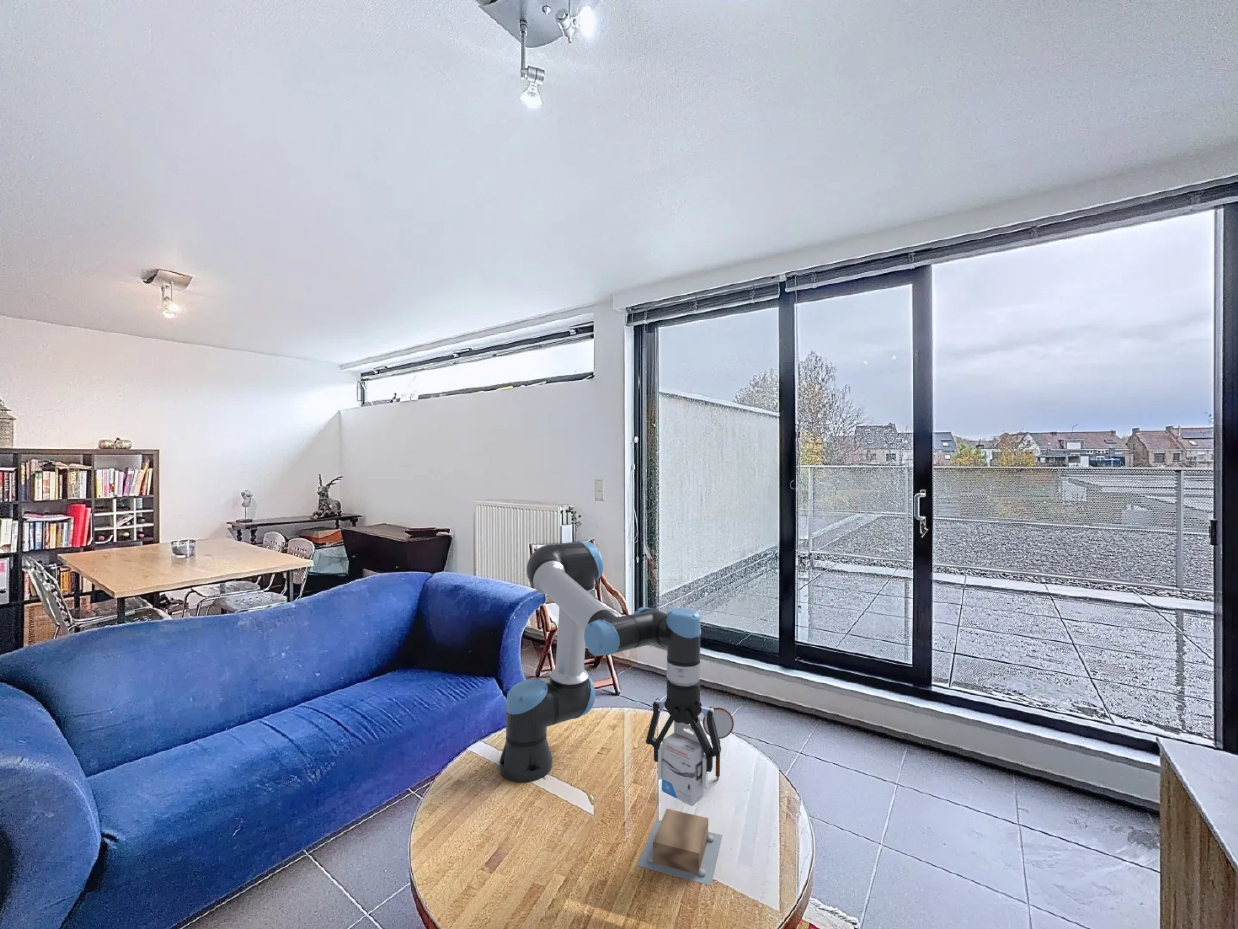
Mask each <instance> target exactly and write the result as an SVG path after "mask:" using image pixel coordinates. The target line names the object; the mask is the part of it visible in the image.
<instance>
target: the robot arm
mask: <svg viewBox="0 0 1238 929" xmlns="http://www.w3.org/2000/svg"><path fill="white" fill-rule="evenodd" d="M603 573H604V560H603V556H602V554H601V552H600V550H599V548H598V547H597V546H596V544H594V543H593V542H590V541H580V540H578V541H573V542H562V543H549V544H545V545H542V546H540V547H538V548H536V550H534V552H532V554H531V555H530V557H529V559H528V561H527V565H526V576H527V580H528V582H529V583H530V585H531V586H532V587H533V588H534V590H536V591H537V592H538V593H540V594H545V595H547V596H548V598H549V599H550V600H552V602H554V603H555V604H556V605H557V607H559V608H558V621H557V622H558V623H557V639H556V640H557V641H556V642H557V643H556V657H555V667H554V668H553V669H552V670H551V672H550V676H549V682H546V681H544V680H542V679H538V678H537V679H536V678H535V679H526V680H522V681H520V682H518V683H516V684H514V685H513V686H511V687H510V689H509V691H508V692H507V695H506V702H505V743H504V746H503V748H502V752H501V755H500V758H499V761H498V762H499V763H498V764H499V766H498V767H499V768H498V772H499V774H500V775H501V776H502V777H503V778H505V779H507V780H509V781H512V782H517V783H519V782H520V783H522V782H525V783H526V782H530V781H531V782H532V781H536V780H539V779H540V778H543V777H544V776H546V775H547V774H549V772H550V771H551V770H552V769H553V755H552V751H551V749H550V746H549V742H548V739H547V734H548V733H547V728H548V727H551V726H553V725H558V724H560V723H564V722H567V721H570V720H577V719H579V718H581V717H582V716H583V717H584V716H585V715H587V714H588V713H589V712H591V710H592V709H593V707H594V704H595V702H596V700H595V699H596V689H595V687H594V686H595V684H594V681H593V679H592V678H591V676H589V673H588V671H587V670H586V669H585V656H586V648H587V650H588V652H589V653H590V654H591V655H593V656H596V657H601V656H610V655H614V654H617V653H620V652H624V651H625V652H626V651H628V650H631V649H638V648H641V647H646V646H650V645H657V646H658V647H662V648H664V649H666V678H667V680H666V699H665V700H661V699H660V698H656V699H655V700H654V701H653V702H652V717H651V721H650V724H649V728H648V732H647V736H646V739H645V744H647V745H648V746H649V745H651V747H653V761H654V762H656V763H657V780H662V740H663V739H664V738H666V735H667V734H668V731H669V730H670V728H671V727H672V724H674V721H675V722H676V723H684V724H688V725H691V728H692V729H693V730H694V732H695V734H696V736H697V738H698V740H699V742H700V745H701V747H702V749H703V751H704V756H703V781H702V788H704V789H707V787H708V782H709V773H711V772H712V771H713V766H714V765H713V764H714V758H716V757H719V756H720V757H721V752H722V746H721V741H720V742H719V740H720V739H719V737H718V733H717V729H716V725H715V721H714V708H715V707H714V706H709V707H706V706H703V704H702V702H701V682H700V680H701V639H702V638H701V634H702V629H701V616H700V614H699V612H697V611H696V610H694V609H691V608H688V609H687V608H680V607H679V608H674V609H670V610H669V611H668V612H667V613H666V612H665V611H661V610H658V609H656V608H653V607H648V606H647V607H646V606H642V607H639V608H637V610H636V611H634V612H633V613H631V614H626V615H622V616H621V615H620V616H617V615H615V614H614V613H613V612H612V611H610V610H609V609H608V608H607V607H606V606H605V605H604V604H603V603H602V602H600V601H599V600H597V598H595V596H593V595H592V594H591V593H590V592H592V591H593V590H594V588H595V581H598V579H600V578H601V576H602V575H603ZM664 708H665V709H666V711H667V713H668V714H669V717H668V718H667V720H666V722H665V724H664V726H663V727H662V729H661V730H660V732H659V735H657V738H656V737H655V734H656V730H657V726H658V724H659V719H660V715H661V712H662V711H663V709H664ZM701 713H702V714H703V718H704V717H705V718H706V719H707V726H708V730H709V734H710V736H709V739H708V736H707V733H706V732H705V730H704V727H703V725H702V723H701V721H700V718H699V716H700V715H701ZM703 732H704V733H703ZM709 740H710V741H709Z"/></svg>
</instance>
